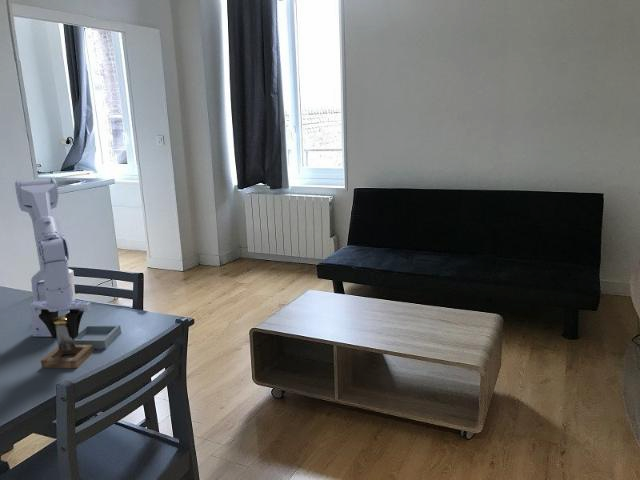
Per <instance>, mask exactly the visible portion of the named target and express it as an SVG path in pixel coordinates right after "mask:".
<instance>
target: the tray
mask: <svg viewBox="0 0 640 480" xmlns="http://www.w3.org/2000/svg"><path fill="white" fill-rule="evenodd" d="M121 328H122V327H121V325H120V324H119V325H118V324H117V325H116V324H115V325H111V324H109V325H106V324H86V325H84V326H83V327H81V329H79V331H78V336H77V337H76V338H75V345H93V348H94V350H107V349H108V348H109V347H110V345H112V344H113V342H115V340H116V339H118V337H119V336H120V335H121V334H122V329H121Z"/></svg>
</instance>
